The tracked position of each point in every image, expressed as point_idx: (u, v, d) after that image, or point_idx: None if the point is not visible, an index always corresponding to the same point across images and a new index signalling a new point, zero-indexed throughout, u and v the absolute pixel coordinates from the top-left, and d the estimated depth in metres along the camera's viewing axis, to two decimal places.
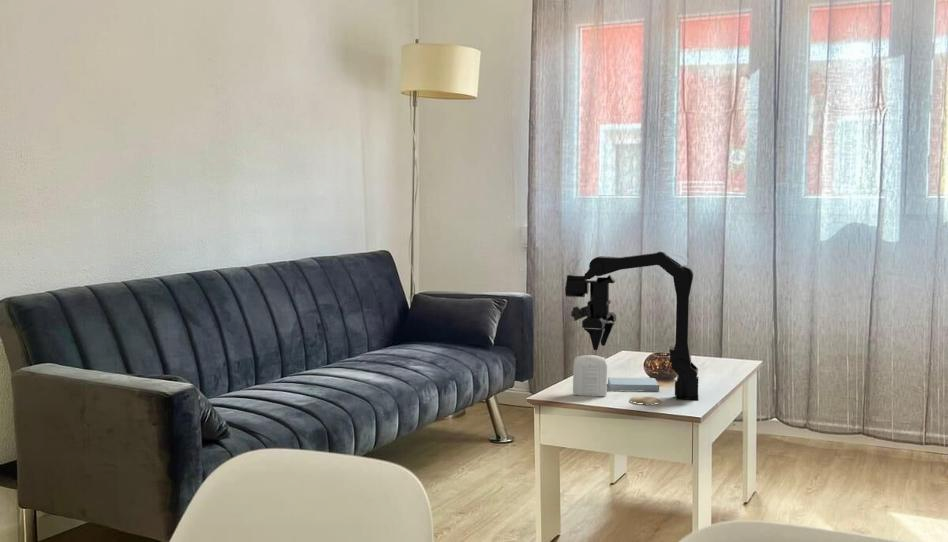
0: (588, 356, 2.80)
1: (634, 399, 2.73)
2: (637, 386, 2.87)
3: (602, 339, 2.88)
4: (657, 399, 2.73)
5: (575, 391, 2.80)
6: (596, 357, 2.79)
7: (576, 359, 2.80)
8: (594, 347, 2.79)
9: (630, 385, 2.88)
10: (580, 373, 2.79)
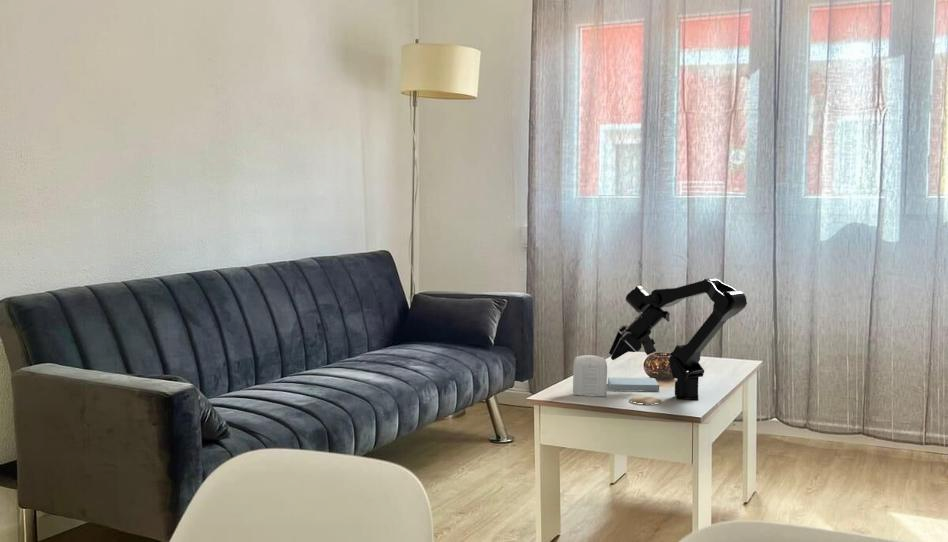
0: (588, 356, 2.80)
1: (634, 399, 2.73)
2: (637, 386, 2.87)
3: None
4: (657, 399, 2.73)
5: (575, 391, 2.80)
6: (596, 357, 2.79)
7: (576, 359, 2.80)
8: None
9: (630, 385, 2.88)
10: (579, 373, 2.79)
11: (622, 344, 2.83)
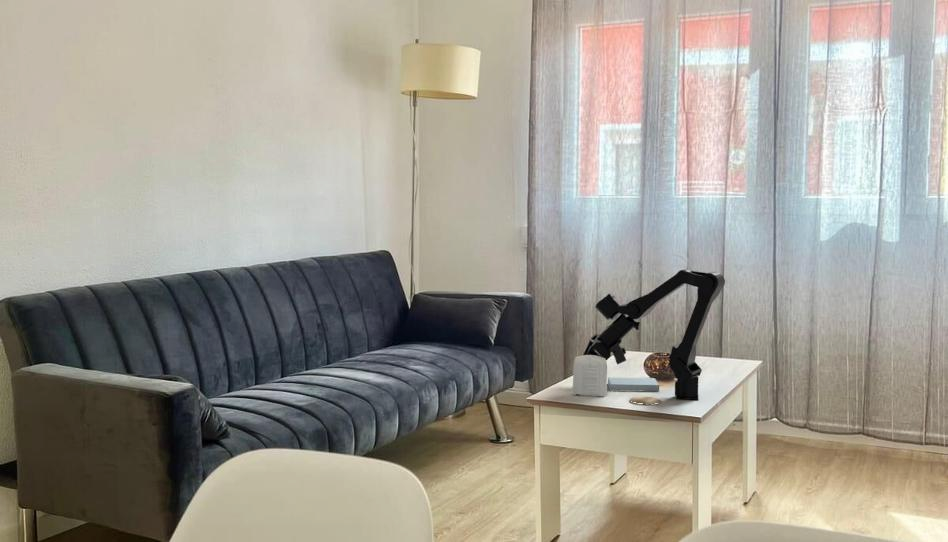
0: (588, 356, 2.80)
1: (634, 399, 2.73)
2: (637, 386, 2.87)
3: None
4: (657, 399, 2.73)
5: (575, 391, 2.80)
6: (596, 357, 2.79)
7: (576, 359, 2.80)
8: None
9: (630, 385, 2.88)
10: (580, 373, 2.79)
11: (592, 353, 2.84)
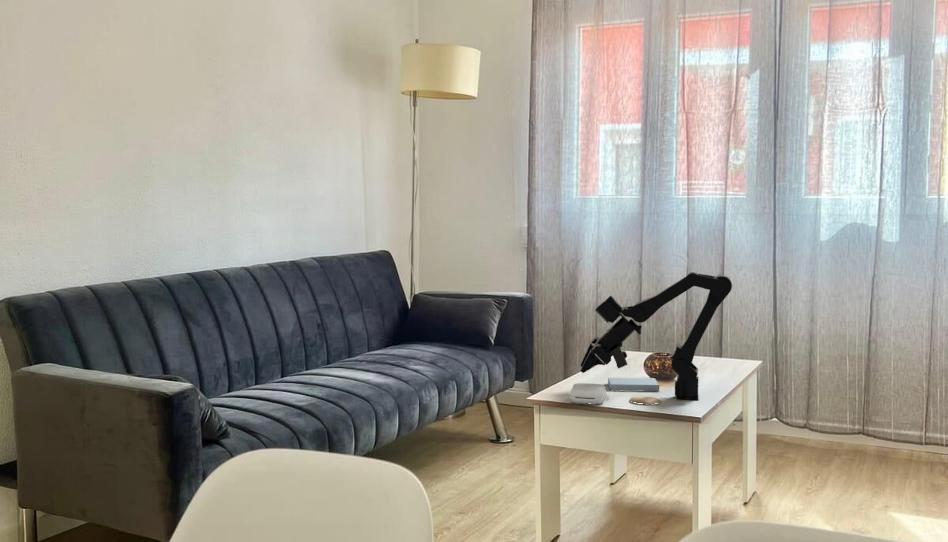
0: (584, 401, 2.67)
1: (634, 399, 2.73)
2: (637, 386, 2.87)
3: None
4: (657, 399, 2.73)
5: None
6: (592, 401, 2.67)
7: (572, 401, 2.69)
8: None
9: (630, 385, 2.88)
10: None
11: (592, 357, 2.77)
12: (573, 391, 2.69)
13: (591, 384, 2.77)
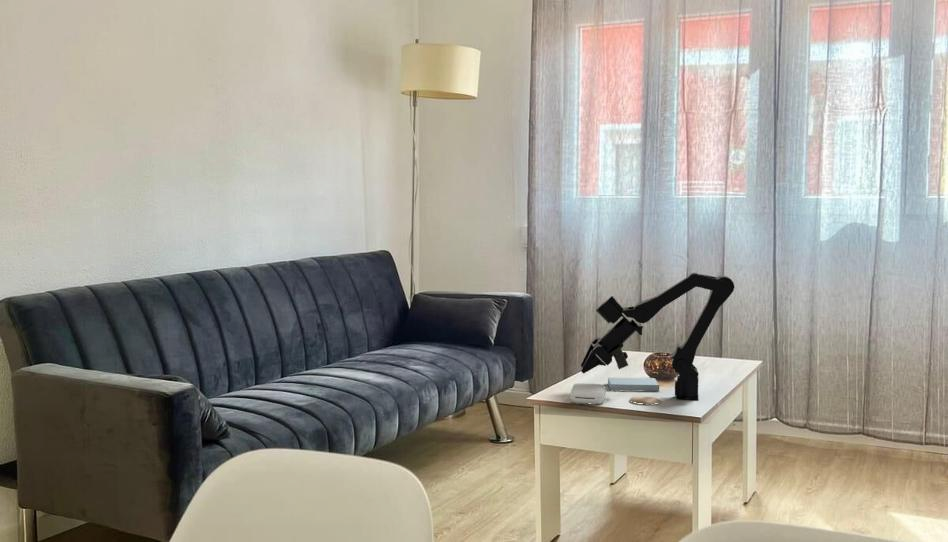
0: (584, 401, 2.67)
1: (634, 399, 2.73)
2: (637, 386, 2.87)
3: None
4: (657, 399, 2.73)
5: None
6: (592, 401, 2.67)
7: (572, 401, 2.69)
8: None
9: (630, 385, 2.88)
10: None
11: (593, 357, 2.76)
12: (573, 391, 2.69)
13: (591, 384, 2.77)
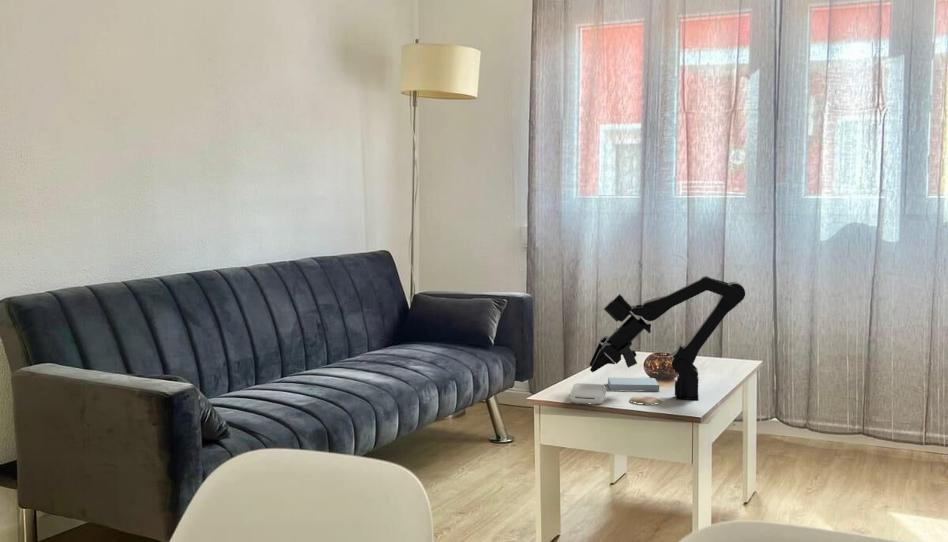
0: (584, 401, 2.67)
1: (634, 399, 2.73)
2: (637, 386, 2.87)
3: None
4: (657, 399, 2.73)
5: None
6: (592, 401, 2.67)
7: (572, 401, 2.69)
8: None
9: (630, 385, 2.88)
10: None
11: (601, 356, 2.75)
12: (573, 391, 2.69)
13: (591, 384, 2.77)
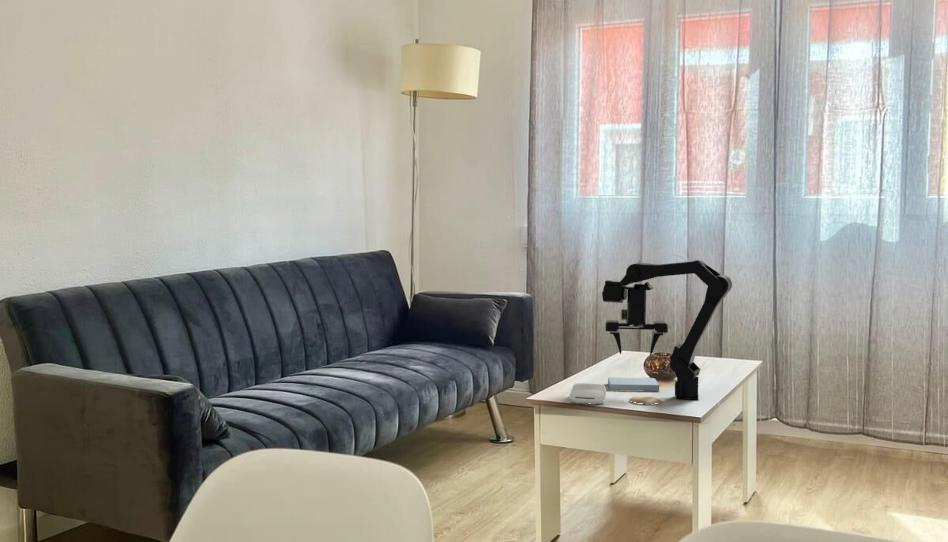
0: (584, 401, 2.67)
1: (634, 399, 2.73)
2: (637, 386, 2.87)
3: (650, 348, 2.84)
4: (657, 399, 2.73)
5: None
6: (592, 401, 2.67)
7: (572, 401, 2.69)
8: (619, 350, 2.85)
9: (630, 385, 2.88)
10: None
11: None
12: (573, 391, 2.69)
13: (591, 384, 2.77)
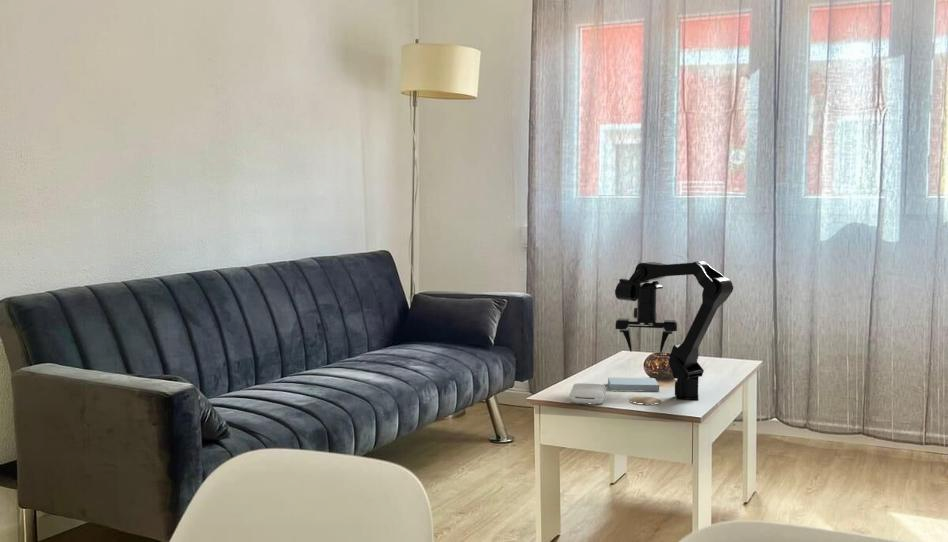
0: (584, 401, 2.67)
1: (634, 399, 2.73)
2: (637, 386, 2.87)
3: None
4: (657, 399, 2.73)
5: None
6: (592, 401, 2.67)
7: (572, 401, 2.69)
8: None
9: (630, 385, 2.88)
10: None
11: None
12: (573, 391, 2.69)
13: (591, 384, 2.77)
